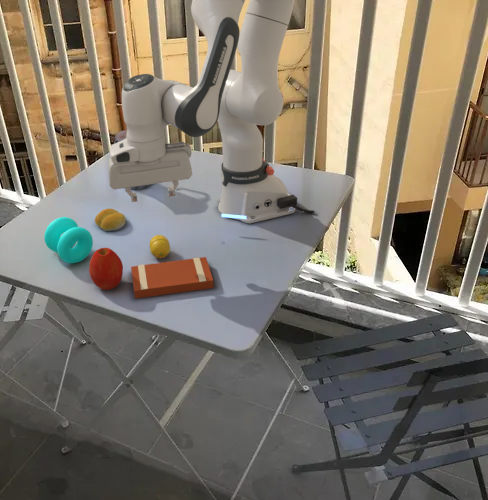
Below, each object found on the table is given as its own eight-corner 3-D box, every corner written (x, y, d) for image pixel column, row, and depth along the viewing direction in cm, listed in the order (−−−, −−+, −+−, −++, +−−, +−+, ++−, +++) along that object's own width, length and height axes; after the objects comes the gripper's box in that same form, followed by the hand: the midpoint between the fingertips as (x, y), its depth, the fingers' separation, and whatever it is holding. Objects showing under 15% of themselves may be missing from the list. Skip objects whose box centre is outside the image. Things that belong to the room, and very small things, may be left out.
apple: (115, 270, 143) (110, 235, 137) (131, 286, 138) (126, 250, 132) (86, 282, 140) (79, 246, 134) (101, 299, 134) (94, 262, 128)
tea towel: (206, 264, 143) (205, 256, 142) (213, 288, 135) (213, 279, 133) (132, 274, 142) (131, 266, 140) (135, 298, 133) (133, 290, 132)
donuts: (78, 241, 156) (72, 210, 151) (97, 255, 150) (91, 223, 144) (46, 255, 151) (39, 223, 146) (64, 271, 145) (57, 238, 139)
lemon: (147, 246, 150) (150, 230, 148) (166, 248, 151) (169, 232, 149) (149, 262, 144) (153, 245, 141) (169, 264, 145) (173, 247, 143)
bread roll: (109, 235, 158) (107, 223, 156) (91, 224, 164) (89, 212, 161) (132, 224, 162) (131, 212, 160) (114, 213, 168) (112, 201, 166)
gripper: (188, 135, 135) (192, 186, 143) (103, 147, 134) (112, 197, 141) (192, 146, 130) (196, 198, 137) (104, 158, 128) (113, 210, 136)
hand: (153, 198), depth 139 cm, fingers open, 8 cm apart
